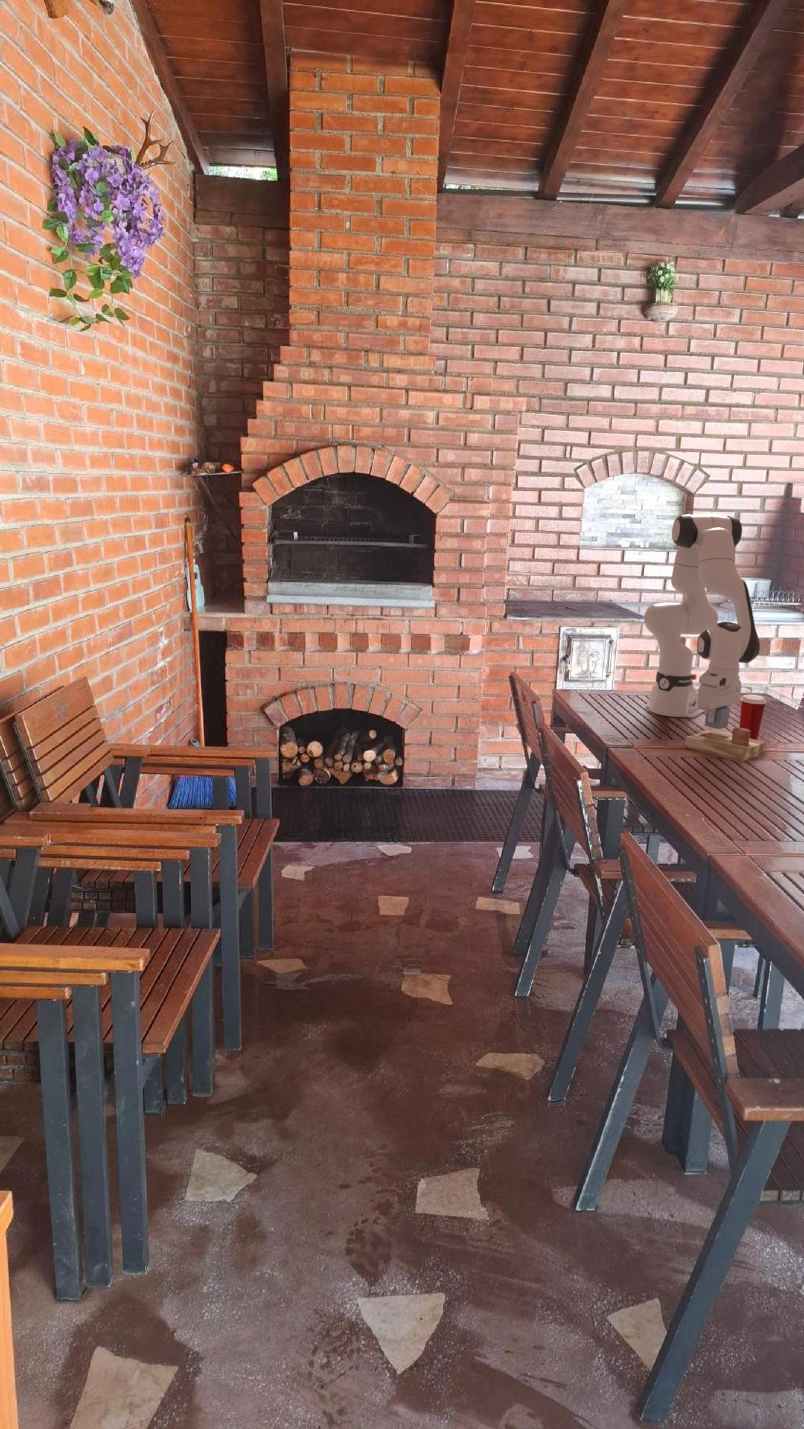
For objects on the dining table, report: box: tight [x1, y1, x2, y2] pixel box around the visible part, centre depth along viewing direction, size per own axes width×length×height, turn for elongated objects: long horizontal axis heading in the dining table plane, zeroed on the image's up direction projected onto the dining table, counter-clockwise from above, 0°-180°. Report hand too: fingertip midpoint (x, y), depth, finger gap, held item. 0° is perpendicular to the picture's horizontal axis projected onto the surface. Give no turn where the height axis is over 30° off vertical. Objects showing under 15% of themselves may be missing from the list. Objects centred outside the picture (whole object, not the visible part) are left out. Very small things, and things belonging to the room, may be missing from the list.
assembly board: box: [685, 727, 766, 763], centre depth 279 cm, size 15×18×8 cm
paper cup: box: [738, 694, 767, 740], centre depth 292 cm, size 8×8×14 cm
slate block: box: [704, 707, 731, 730], centre depth 280 cm, size 5×5×6 cm
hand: (716, 720), depth 281 cm, fingers closed on slate block, 5 cm apart
